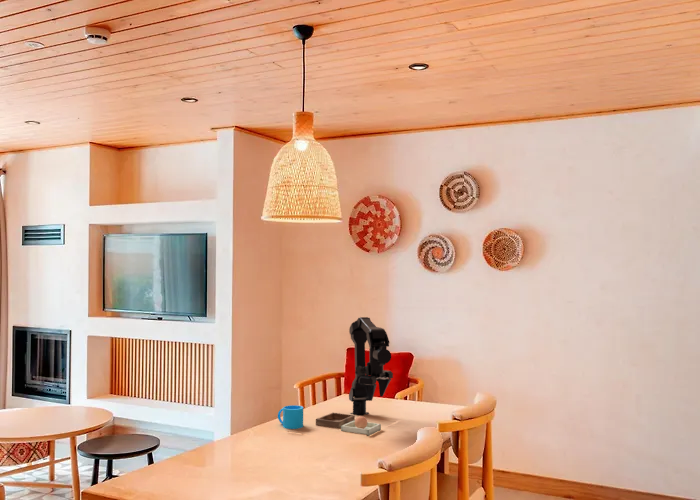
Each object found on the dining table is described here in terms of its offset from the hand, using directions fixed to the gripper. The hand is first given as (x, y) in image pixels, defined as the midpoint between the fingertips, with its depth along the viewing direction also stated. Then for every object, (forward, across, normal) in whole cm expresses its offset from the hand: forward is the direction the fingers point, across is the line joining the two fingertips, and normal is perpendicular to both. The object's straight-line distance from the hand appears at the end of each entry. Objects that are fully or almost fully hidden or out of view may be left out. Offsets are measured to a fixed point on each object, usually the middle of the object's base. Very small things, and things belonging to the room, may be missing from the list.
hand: (376, 398), depth 249 cm
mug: (+12, +18, -30) cm, 37 cm away
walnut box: (+12, +5, -16) cm, 21 cm away
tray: (+12, +8, -2) cm, 14 cm away
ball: (+11, +8, -2) cm, 14 cm away
